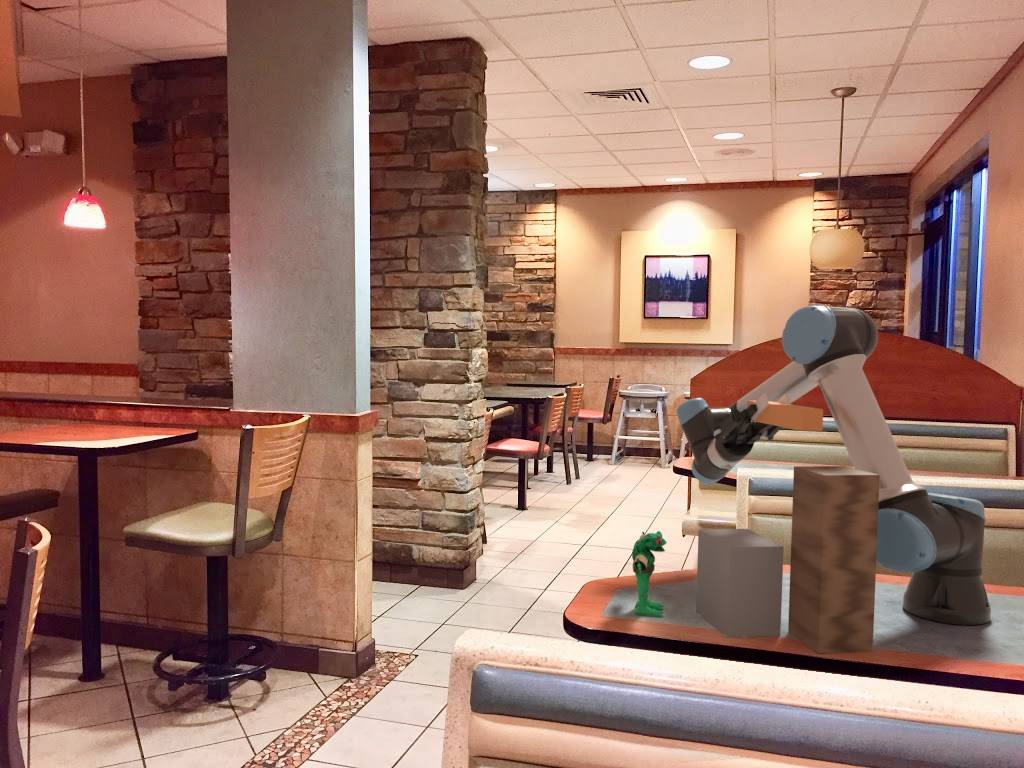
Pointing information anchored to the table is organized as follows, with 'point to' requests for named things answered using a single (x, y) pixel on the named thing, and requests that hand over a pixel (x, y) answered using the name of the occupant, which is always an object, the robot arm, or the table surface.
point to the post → (833, 558)
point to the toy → (646, 571)
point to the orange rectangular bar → (791, 416)
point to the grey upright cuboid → (739, 582)
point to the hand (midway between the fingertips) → (777, 400)
